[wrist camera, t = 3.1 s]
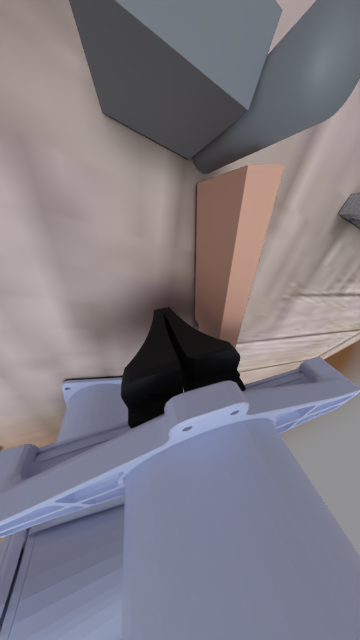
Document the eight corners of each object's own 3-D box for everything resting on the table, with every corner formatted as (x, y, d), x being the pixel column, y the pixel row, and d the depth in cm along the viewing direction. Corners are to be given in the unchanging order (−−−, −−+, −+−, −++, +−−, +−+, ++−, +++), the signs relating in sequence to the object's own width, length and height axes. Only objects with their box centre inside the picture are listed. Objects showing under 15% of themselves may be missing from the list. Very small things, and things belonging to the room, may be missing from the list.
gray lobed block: (213, 178, 9) (326, 138, 4) (102, 119, 7) (11, -173, 2) (226, 137, 8) (395, 13, 3) (103, 53, 6) (-101, -1116, 1)
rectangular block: (193, 184, 9) (244, 164, 5) (220, 183, 9) (288, 164, 5) (192, 333, 17) (212, 373, 13) (207, 330, 17) (231, 368, 13)
